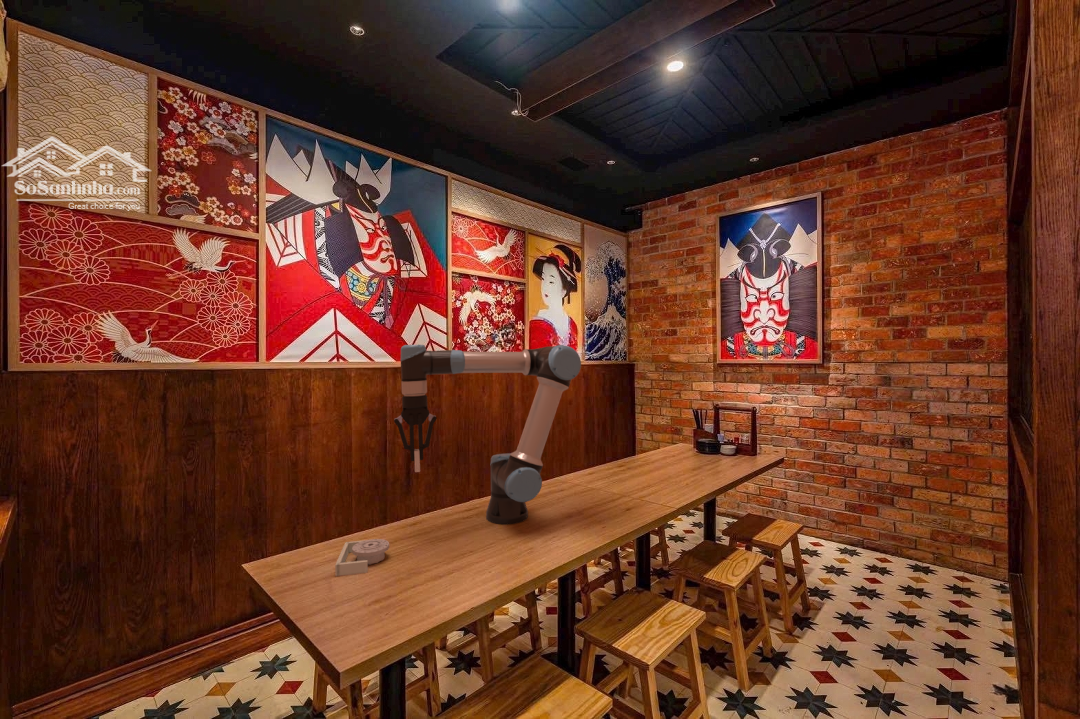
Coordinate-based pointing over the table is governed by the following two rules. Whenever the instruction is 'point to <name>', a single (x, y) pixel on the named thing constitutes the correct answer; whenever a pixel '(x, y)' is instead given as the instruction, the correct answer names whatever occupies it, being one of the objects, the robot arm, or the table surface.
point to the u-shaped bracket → (349, 567)
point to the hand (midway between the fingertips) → (417, 470)
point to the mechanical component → (371, 550)
